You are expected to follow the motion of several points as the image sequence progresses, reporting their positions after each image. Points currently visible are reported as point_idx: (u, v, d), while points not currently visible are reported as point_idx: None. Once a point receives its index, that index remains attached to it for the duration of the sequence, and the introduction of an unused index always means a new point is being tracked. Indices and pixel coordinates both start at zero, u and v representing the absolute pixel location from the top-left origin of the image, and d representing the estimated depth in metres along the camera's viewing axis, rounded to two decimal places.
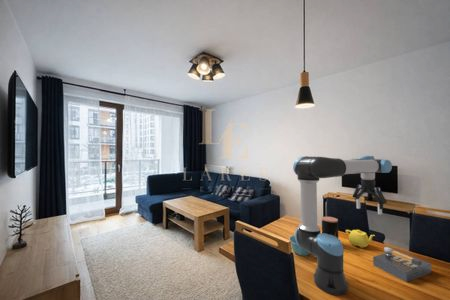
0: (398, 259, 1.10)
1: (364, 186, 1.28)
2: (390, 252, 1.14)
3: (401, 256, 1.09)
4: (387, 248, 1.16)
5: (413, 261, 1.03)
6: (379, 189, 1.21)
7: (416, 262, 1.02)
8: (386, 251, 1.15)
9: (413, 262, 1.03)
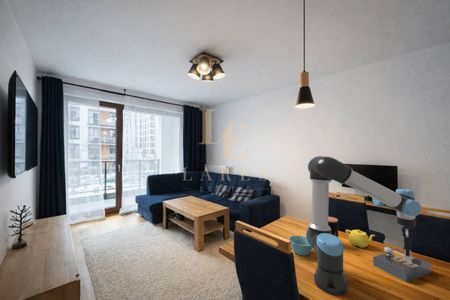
0: (398, 259, 1.10)
1: None
2: (390, 252, 1.14)
3: (402, 255, 1.09)
4: (387, 248, 1.16)
5: (414, 261, 1.04)
6: (407, 236, 1.02)
7: (417, 262, 1.02)
8: (386, 251, 1.15)
9: (414, 262, 1.04)
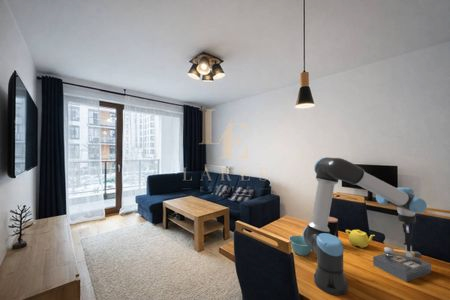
0: (398, 259, 1.10)
1: None
2: (393, 252, 1.14)
3: (404, 252, 1.12)
4: (387, 248, 1.16)
5: (417, 255, 1.10)
6: (407, 231, 1.07)
7: (419, 255, 1.09)
8: (390, 252, 1.14)
9: (417, 256, 1.10)
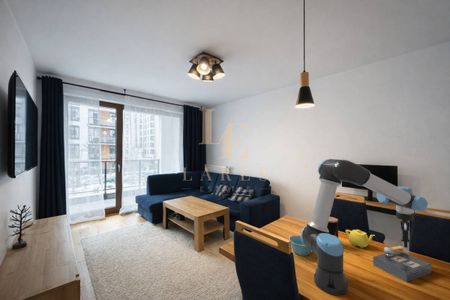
0: (398, 259, 1.10)
1: None
2: None
3: (399, 249, 1.17)
4: (388, 249, 1.15)
5: None
6: (405, 229, 1.12)
7: None
8: (392, 252, 1.14)
9: None
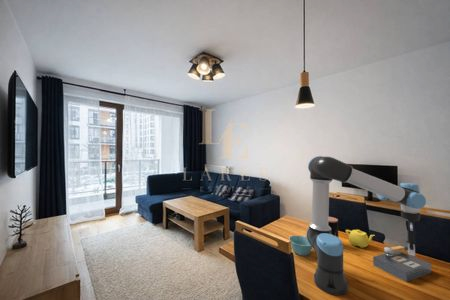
0: (398, 259, 1.10)
1: None
2: None
3: (399, 249, 1.17)
4: (388, 249, 1.15)
5: (406, 248, 1.18)
6: (411, 229, 1.01)
7: (407, 247, 1.18)
8: (392, 252, 1.14)
9: (406, 249, 1.18)
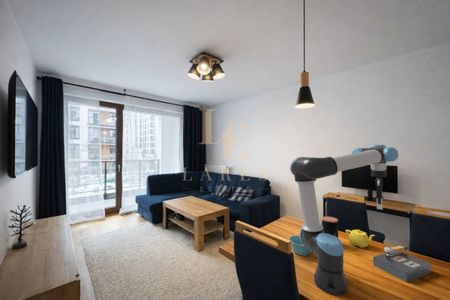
0: (398, 259, 1.10)
1: None
2: None
3: (399, 249, 1.17)
4: (388, 249, 1.15)
5: (406, 248, 1.18)
6: (378, 184, 1.13)
7: (407, 247, 1.18)
8: (392, 252, 1.14)
9: (406, 249, 1.18)
